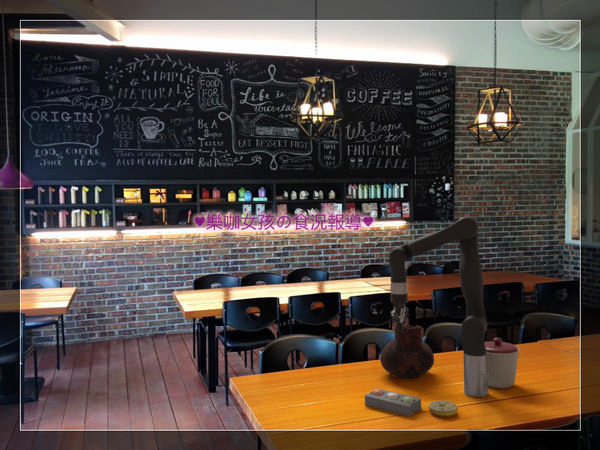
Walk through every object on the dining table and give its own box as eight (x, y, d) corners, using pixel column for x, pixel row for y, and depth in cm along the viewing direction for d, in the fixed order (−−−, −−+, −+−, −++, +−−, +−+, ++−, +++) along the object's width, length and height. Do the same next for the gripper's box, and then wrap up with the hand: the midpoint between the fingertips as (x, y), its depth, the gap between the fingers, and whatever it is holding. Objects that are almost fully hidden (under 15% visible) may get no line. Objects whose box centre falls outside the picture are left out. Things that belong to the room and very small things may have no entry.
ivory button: (399, 404, 212) (399, 393, 212) (394, 407, 209) (394, 396, 209) (390, 402, 214) (390, 391, 214) (385, 405, 211) (385, 394, 211)
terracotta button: (384, 400, 216) (384, 390, 216) (379, 403, 213) (379, 393, 213) (376, 398, 219) (375, 388, 219) (370, 401, 216) (370, 391, 216)
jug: (430, 367, 261) (429, 317, 260) (438, 384, 236) (437, 329, 235) (379, 366, 263) (378, 317, 263) (382, 384, 238) (380, 329, 238)
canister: (524, 393, 222) (523, 343, 222) (479, 391, 226) (478, 342, 225) (515, 378, 240) (515, 333, 239) (474, 377, 244) (473, 332, 243)
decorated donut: (443, 406, 211) (443, 396, 211) (463, 415, 202) (463, 405, 202) (423, 411, 207) (423, 401, 207) (442, 420, 197) (442, 410, 197)
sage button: (415, 408, 207) (415, 397, 207) (410, 411, 204) (410, 400, 204) (406, 405, 210) (406, 395, 210) (401, 409, 207) (401, 398, 207)
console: (421, 408, 209) (421, 398, 209) (409, 416, 201) (408, 406, 201) (377, 397, 222) (377, 388, 222) (364, 405, 214) (364, 395, 214)
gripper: (399, 295, 226) (399, 335, 227) (413, 290, 236) (414, 328, 237) (383, 293, 231) (384, 332, 231) (398, 289, 241) (399, 326, 242)
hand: (399, 330), depth 234 cm, fingers closed
